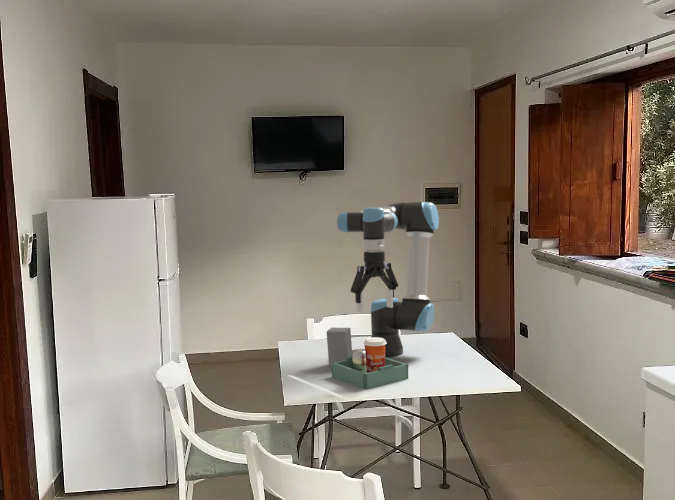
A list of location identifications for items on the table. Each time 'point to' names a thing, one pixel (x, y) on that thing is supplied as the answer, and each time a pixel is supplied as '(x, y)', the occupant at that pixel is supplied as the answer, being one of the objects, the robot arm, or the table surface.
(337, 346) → the skincare box
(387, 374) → the tote
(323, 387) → the table surface
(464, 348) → the table surface
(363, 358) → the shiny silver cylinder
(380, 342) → the coffee cup
